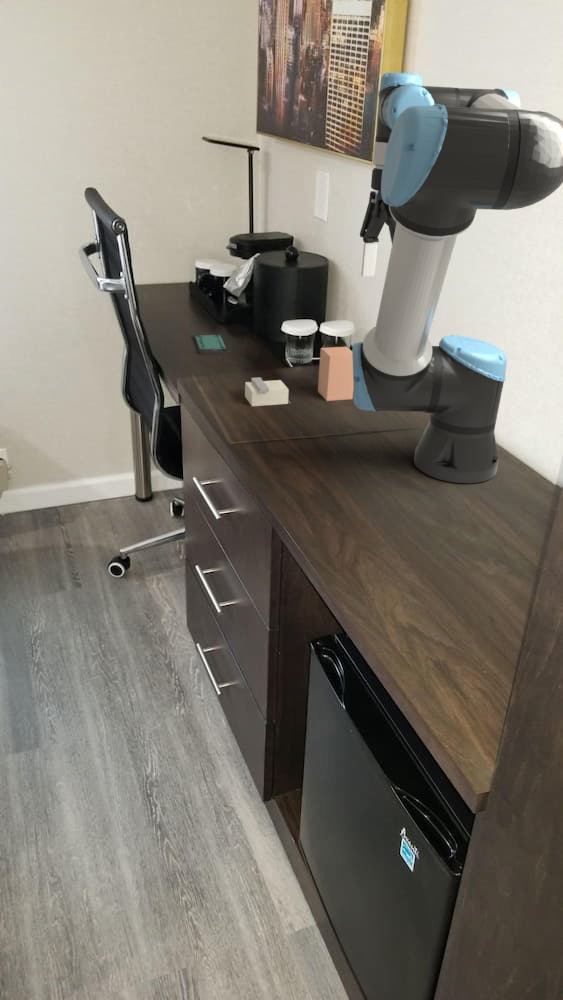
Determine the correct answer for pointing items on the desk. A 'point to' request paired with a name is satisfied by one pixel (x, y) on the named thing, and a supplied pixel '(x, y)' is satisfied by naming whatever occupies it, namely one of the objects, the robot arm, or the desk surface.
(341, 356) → the stub
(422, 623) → the desk surface
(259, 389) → the cream block
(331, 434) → the desk surface
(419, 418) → the desk surface
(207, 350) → the smartphone
